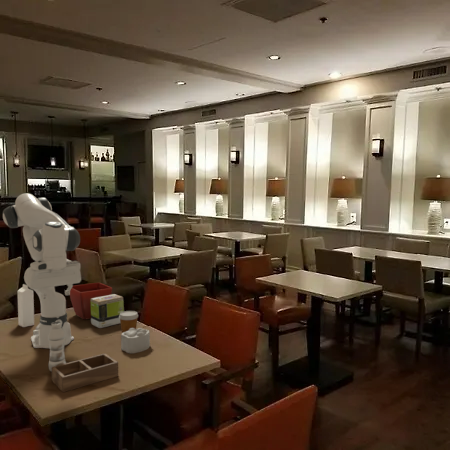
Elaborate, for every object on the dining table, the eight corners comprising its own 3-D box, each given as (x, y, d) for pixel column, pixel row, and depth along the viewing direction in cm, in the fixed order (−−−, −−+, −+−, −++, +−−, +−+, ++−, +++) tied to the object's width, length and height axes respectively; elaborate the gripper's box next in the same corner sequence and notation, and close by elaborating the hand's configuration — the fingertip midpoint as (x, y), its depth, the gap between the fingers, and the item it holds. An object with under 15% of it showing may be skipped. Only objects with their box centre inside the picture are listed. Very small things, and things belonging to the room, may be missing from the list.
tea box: (115, 318, 249) (115, 293, 247) (124, 323, 241) (124, 296, 240) (90, 324, 238) (90, 297, 237) (99, 328, 231) (98, 301, 230)
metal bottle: (51, 367, 182) (50, 320, 180) (68, 367, 182) (67, 320, 180) (46, 374, 175) (45, 325, 173) (63, 373, 176) (62, 325, 174)
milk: (23, 327, 232) (21, 286, 230) (18, 324, 236) (16, 284, 234) (34, 324, 236) (33, 284, 234) (29, 322, 240) (28, 282, 238)
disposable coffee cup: (132, 341, 213) (132, 317, 212) (115, 338, 217) (115, 315, 215) (142, 334, 222) (141, 311, 221) (125, 332, 226) (125, 309, 224)
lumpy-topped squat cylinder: (118, 348, 204) (118, 330, 203) (142, 341, 213) (142, 324, 212) (130, 354, 197) (130, 335, 196) (154, 347, 206) (154, 329, 205)
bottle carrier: (51, 381, 169) (51, 367, 169) (105, 366, 184) (104, 353, 183) (63, 392, 160) (62, 377, 160) (118, 375, 175) (118, 362, 174)
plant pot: (99, 308, 268) (98, 281, 266) (113, 316, 253) (113, 287, 252) (68, 314, 255) (67, 286, 254) (81, 322, 241) (80, 292, 239)
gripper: (77, 259, 184) (77, 291, 185) (25, 264, 171) (27, 299, 172) (83, 261, 179) (84, 294, 180) (31, 266, 166) (32, 302, 167)
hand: (55, 296), depth 176 cm, fingers open, 8 cm apart
